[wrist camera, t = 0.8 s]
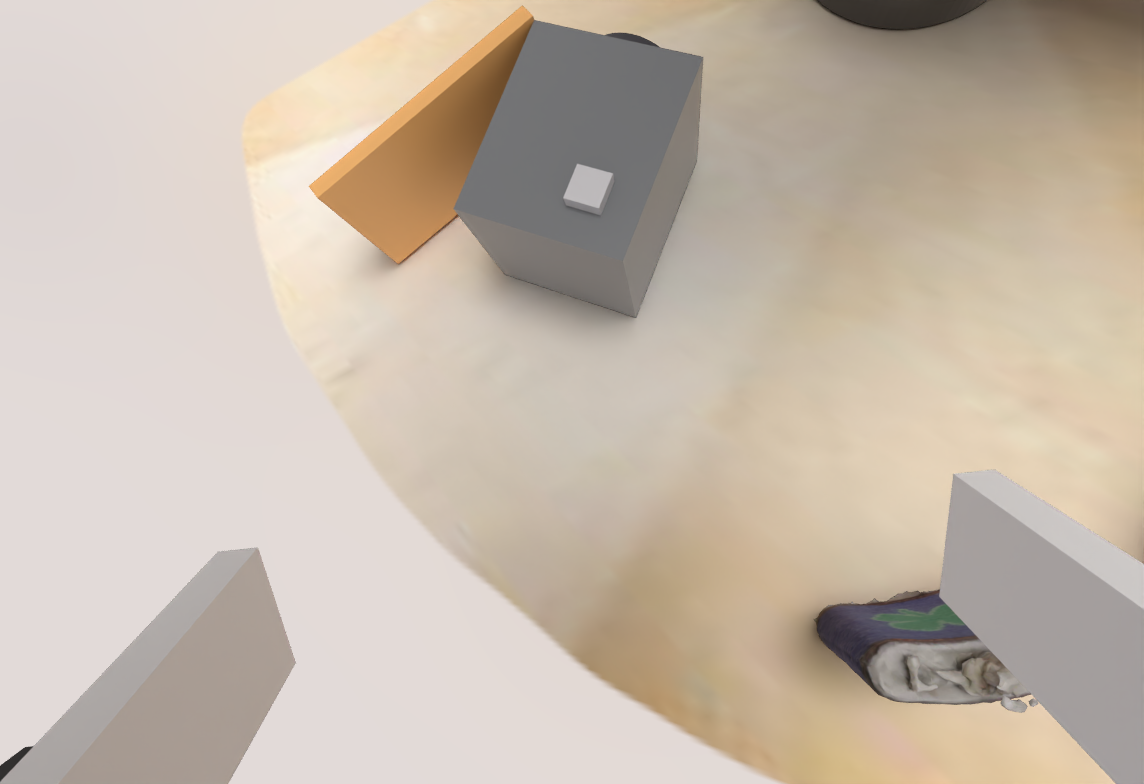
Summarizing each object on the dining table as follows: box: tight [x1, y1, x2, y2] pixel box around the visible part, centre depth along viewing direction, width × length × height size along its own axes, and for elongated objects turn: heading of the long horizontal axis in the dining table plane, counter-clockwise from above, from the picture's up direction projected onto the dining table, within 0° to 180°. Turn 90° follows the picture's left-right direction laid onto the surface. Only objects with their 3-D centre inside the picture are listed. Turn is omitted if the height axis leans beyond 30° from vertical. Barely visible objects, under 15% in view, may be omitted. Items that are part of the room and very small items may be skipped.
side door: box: [309, 5, 534, 264], centre depth 38 cm, size 16×2×10 cm, turn 128°
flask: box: [814, 590, 1038, 713], centre depth 28 cm, size 10×3×12 cm, turn 101°
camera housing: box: [453, 20, 703, 318], centre depth 36 cm, size 14×10×11 cm
